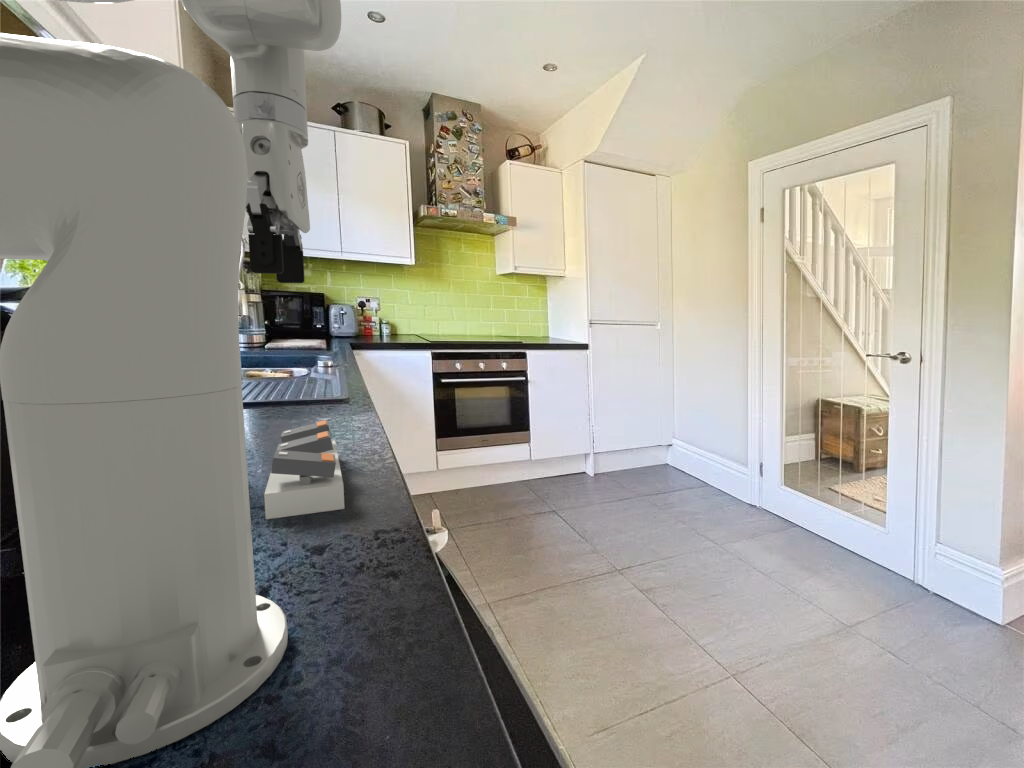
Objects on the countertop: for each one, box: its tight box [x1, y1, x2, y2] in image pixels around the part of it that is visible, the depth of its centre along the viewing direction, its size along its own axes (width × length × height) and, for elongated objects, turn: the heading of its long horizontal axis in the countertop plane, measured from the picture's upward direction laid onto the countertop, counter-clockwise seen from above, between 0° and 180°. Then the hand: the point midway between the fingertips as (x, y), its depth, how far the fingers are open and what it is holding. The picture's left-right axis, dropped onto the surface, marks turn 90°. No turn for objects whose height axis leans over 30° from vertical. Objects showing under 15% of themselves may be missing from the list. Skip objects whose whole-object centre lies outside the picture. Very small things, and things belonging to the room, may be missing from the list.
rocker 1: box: [280, 419, 332, 443], centre depth 67 cm, size 4×6×2 cm, turn 112°
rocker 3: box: [270, 449, 336, 478], centre depth 52 cm, size 4×6×2 cm, turn 112°
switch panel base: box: [264, 440, 345, 520], centre depth 60 cm, size 22×7×4 cm, turn 22°
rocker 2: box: [276, 431, 333, 453], centre depth 59 cm, size 4×6×2 cm, turn 112°
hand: (280, 278), depth 57 cm, fingers open, 9 cm apart
